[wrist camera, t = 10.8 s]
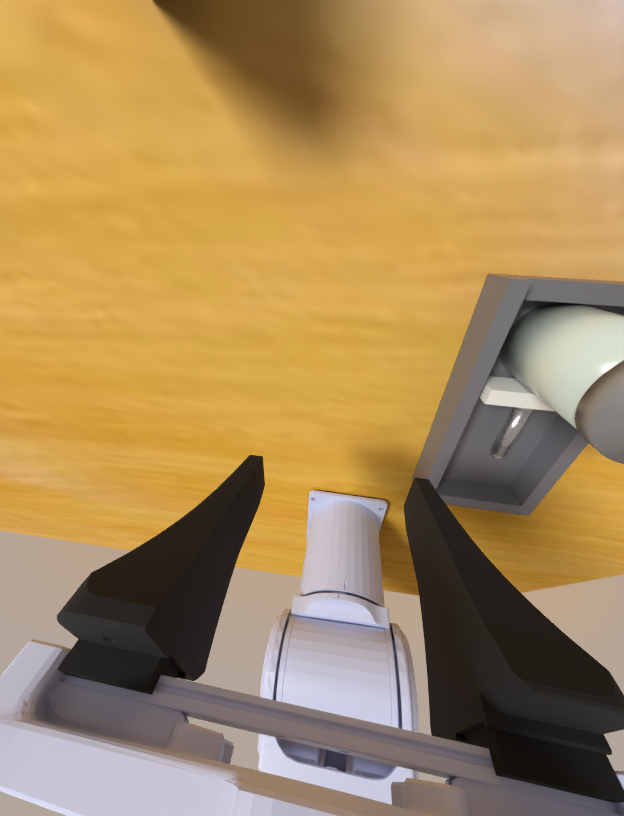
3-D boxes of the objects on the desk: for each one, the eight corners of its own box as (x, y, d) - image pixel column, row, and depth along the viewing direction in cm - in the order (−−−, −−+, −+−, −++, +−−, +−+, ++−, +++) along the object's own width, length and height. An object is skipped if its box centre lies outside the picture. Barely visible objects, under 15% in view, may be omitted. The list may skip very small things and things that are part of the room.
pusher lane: (512, 490, 23) (528, 515, 21) (412, 477, 24) (418, 500, 22) (657, 283, 14) (712, 291, 12) (488, 273, 15) (510, 279, 13)
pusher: (531, 453, 20) (548, 473, 18) (448, 443, 20) (456, 462, 19) (578, 384, 17) (604, 401, 15) (477, 374, 17) (491, 390, 15)
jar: (569, 380, 17) (709, 470, 10) (487, 378, 18) (568, 461, 11) (615, 298, 14) (845, 348, 8) (515, 299, 15) (645, 345, 8)
